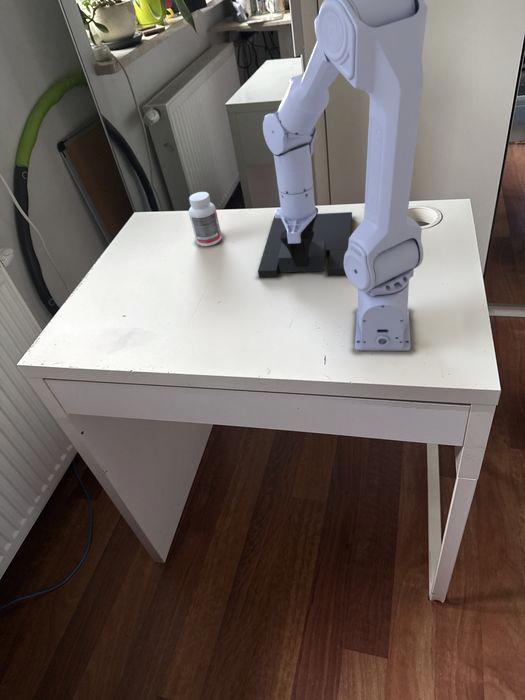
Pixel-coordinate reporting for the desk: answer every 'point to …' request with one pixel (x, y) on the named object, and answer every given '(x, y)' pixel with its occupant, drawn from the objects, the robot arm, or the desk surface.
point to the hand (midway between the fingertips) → (303, 257)
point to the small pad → (314, 262)
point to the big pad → (325, 228)
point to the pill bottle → (204, 219)
